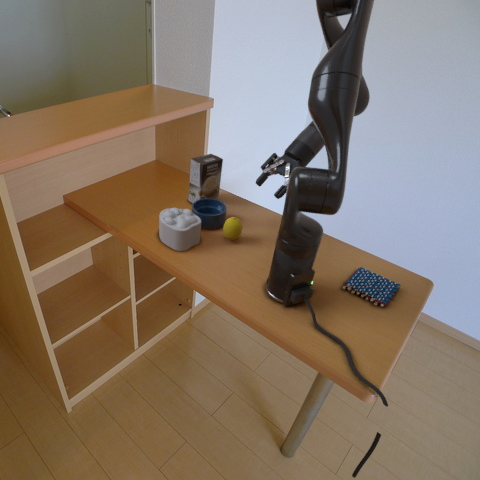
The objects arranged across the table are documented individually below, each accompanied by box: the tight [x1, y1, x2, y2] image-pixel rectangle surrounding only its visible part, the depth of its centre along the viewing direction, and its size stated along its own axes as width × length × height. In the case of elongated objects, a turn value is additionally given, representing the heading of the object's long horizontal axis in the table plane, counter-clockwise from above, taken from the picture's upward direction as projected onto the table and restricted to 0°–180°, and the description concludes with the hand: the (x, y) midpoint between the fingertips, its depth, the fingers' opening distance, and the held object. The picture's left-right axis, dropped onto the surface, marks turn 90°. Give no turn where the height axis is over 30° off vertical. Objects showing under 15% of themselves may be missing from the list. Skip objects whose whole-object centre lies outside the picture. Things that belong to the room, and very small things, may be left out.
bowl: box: [191, 198, 228, 230], centre depth 117 cm, size 11×11×6 cm
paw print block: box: [158, 207, 202, 252], centre depth 109 cm, size 10×13×9 cm
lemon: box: [222, 216, 243, 241], centre depth 108 cm, size 6×6×8 cm
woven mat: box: [342, 266, 402, 308], centre depth 91 cm, size 10×11×2 cm
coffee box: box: [188, 153, 224, 204], centre depth 125 cm, size 9×6×16 cm
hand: (266, 190), depth 105 cm, fingers open, 8 cm apart
